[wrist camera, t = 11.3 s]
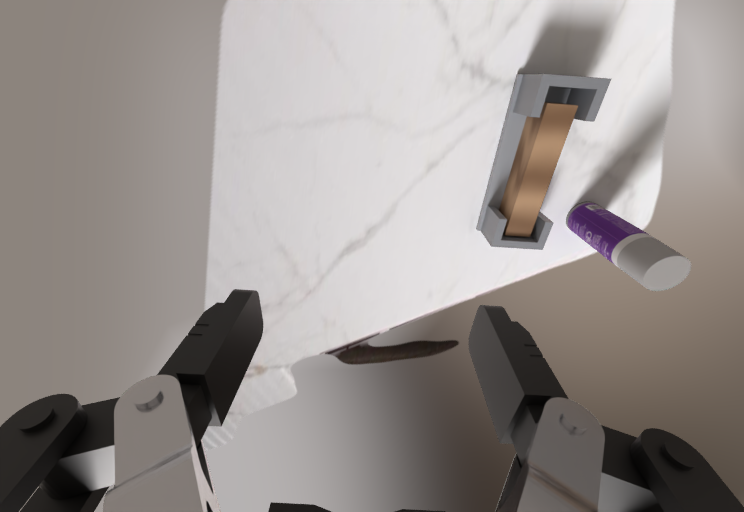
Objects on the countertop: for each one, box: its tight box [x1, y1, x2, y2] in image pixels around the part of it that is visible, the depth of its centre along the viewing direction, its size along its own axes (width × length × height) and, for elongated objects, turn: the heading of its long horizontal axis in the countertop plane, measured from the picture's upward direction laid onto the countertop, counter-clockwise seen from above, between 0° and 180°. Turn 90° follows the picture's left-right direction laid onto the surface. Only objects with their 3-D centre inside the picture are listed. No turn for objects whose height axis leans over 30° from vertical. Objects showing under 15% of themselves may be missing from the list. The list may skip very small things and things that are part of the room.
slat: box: [499, 102, 578, 237], centre depth 39 cm, size 16×3×4 cm, turn 176°
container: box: [566, 202, 691, 291], centre depth 38 cm, size 5×5×15 cm
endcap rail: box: [476, 74, 611, 250], centre depth 38 cm, size 20×8×6 cm, turn 176°
